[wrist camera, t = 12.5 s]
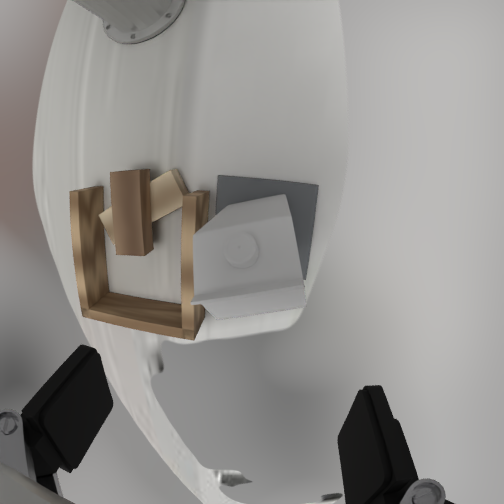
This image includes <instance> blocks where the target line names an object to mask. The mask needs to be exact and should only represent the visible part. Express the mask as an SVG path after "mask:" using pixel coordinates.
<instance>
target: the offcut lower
mask: <svg viewBox="0 0 504 504" xmlns="http://www.w3.org/2000/svg"><path fill="white" fill-rule="evenodd" d="M186 194H189V192H188V190H187V188H186V186H185V184H184V182H183V180H182V178H181V176H180V174H179V172H178V170H177V169H175V170H169V171H168V172H166V173H164V174H162V175H161V176H159V177H157V178H156V179H154V180H152V181H151V182H150V201H151V220H152V222H154V221H156V220H158V219H160V218H162V217H163V216H165V215H167V214H169V213H171V212H173V211H175V210H176V209H178V208H180V207H182V201H183V195H186ZM99 217H100V219H101V221H102V223H103V225H104V227H105V229H106V231H107V233H108V235H109V237H110V239H111V241H112V243H113V245H114V244H115V238H114V229H113V217H112V206H111V207H110V208H108V209H107V210H105V211H104V212H102V213H101V214H99Z"/></svg>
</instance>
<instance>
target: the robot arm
mask: <svg viewBox="0 0 504 504" xmlns="http://www.w3.org/2000/svg"><path fill="white" fill-rule="evenodd" d="M72 1H74V2H76V3H77V4H79V5H81V6H82V7H84V8H85V9H87V10H88V11H90V12H92V13H93V14H95V15H96V16H98V17H99V18H101V19H102V20H103V27H104V30H105V33H106V34H107V35H108V36H109V37H110V38H111V39H113V40H114V41H116V42H119V43H123V44H133V43H138V42H142V41H145V40H147V39H150V38H152V37H154V36H156V35H157V34H159V33H161V32H162V31H163V30H165V29H166V28H167V27H168V26H169V25H170V24H171V23H172V22H173V21H174V20H175V19H176V18H177V16H178V15H179V13H180V12H181V10H182V8H183V5H184V1H185V0H72ZM112 407H113V399H112V396H111V393H110V390H109V387H108V383H107V379H106V376H105V372H104V368H103V364H102V360H101V356H100V354H99V353H97V350H96V349H95V348H92V347H89V346H86V345H80V346H79V347H78V348H77V349H76V350H75V351H74V352H73V353H72V354H71V355H70V356H69V358H68V359H67V360H66V361H65V362H64V363H63V364H62V365H61V366H60V367H59V368H58V370H57V371H56V372H55V373H54V374H53V375H52V376H51V377H50V378H49V380H48V381H47V382H46V383H45V384H44V385H43V386H42V387H41V389H40V390H39V391H38V392H37V393H36V394H35V395H34V397H33V398H32V399H31V400H30V401H29V403H28V404H27V405H26V406H25V407H24V408H23V410H22V414H21V415H20V414H19V413H18V412H16V411H15V410H12V409H3V410H0V504H75V503H73V502H71V501H69V500H67V499H65V498H63V494H62V491H61V487H60V484H59V480H58V476H57V470H58V468H59V467H60V468H61V469H63V470H65V471H67V472H69V473H71V472H72V470H73V469H76V468H77V467H78V466H79V464H80V463H81V461H82V459H83V457H84V456H85V454H86V452H87V450H88V449H89V447H90V445H91V443H92V442H93V440H94V438H95V437H96V435H97V433H98V432H99V430H100V428H101V427H102V425H103V423H104V421H105V420H106V418H107V417H108V415H109V413H110V412H111V410H112ZM338 449H339V455H340V462H341V470H342V477H343V485H344V493H345V502H346V504H454V503H452V502H450V501H448V500H446V499H445V497H446V496H445V491H444V488H443V487H442V485H441V484H440V483H439V482H437V481H435V480H432V479H421V480H419V479H418V476H417V472H416V469H415V466H414V463H413V460H412V457H411V454H410V451H409V448H408V445H407V442H406V439H405V436H404V433H403V431H402V428H401V425H400V423H399V421H398V420H397V419H394V418H393V415H392V412H391V409H390V407H389V404H388V401H387V398H386V396H385V393H384V391H383V388H382V386H380V385H375V386H365V387H364V388H363V390H359V391H358V393H357V395H356V398H355V400H354V402H353V405H352V407H351V409H350V411H349V414H348V416H347V418H346V420H345V422H344V424H343V426H342V429H341V431H340V433H339V435H338Z"/></svg>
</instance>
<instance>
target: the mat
mask: <svg viewBox="0 0 504 504" xmlns="http://www.w3.org/2000/svg"><path fill="white" fill-rule="evenodd" d="M318 186H319V185H313V184H305V183H296V182H288V181H278V180H268V179H258V178H246V177H234V176H220V175H218V183H217V197H216V214H215V216H216V215H217V214H218V213H219V212H220V211H222V210H223V209H224V208H225V207H226V206H228V205H231V204H235V203H240V202H245V201H250V200H255V199H260V198H265V197H270V196H275V195H281V194H285V195H286V198H287V202H288V205H289V209H290V213H291V217H292V221H293V227H294V232H295V237H296V242H297V248H298V253H299V259H300V264H301V270H302V276H303V280H306V274H307V268H308V262H309V255H310V248H311V241H312V234H313V227H314V219H315V211H316V203H317V195H318Z"/></svg>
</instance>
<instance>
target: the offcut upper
mask: <svg viewBox="0 0 504 504" xmlns="http://www.w3.org/2000/svg"><path fill="white" fill-rule="evenodd" d="M110 186H111V204H112V217H113V229H114V238H115V247H116V255H132V256H145V255H147V254H148V253H149V252H151V251H152V250H153V249H154V247H153V234H152V220H151V201H150V169H141V170H128V171H117V172H110Z"/></svg>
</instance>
